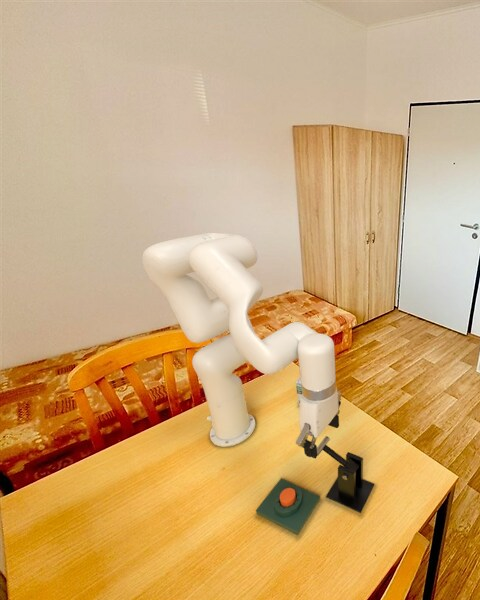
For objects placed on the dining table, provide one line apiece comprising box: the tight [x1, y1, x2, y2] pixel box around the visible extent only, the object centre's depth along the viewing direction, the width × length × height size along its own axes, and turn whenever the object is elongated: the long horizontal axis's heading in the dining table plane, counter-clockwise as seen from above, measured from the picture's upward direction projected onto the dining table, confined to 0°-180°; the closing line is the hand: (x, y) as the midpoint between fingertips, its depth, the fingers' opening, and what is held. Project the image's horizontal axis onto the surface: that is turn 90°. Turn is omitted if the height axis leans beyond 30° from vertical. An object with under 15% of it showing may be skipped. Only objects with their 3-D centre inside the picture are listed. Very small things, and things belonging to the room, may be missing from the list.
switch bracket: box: [325, 451, 375, 514], centre depth 81 cm, size 10×8×12 cm
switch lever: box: [317, 435, 359, 471], centre depth 79 cm, size 11×5×2 cm, turn 71°
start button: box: [280, 488, 296, 507], centre depth 77 cm, size 4×4×2 cm
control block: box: [255, 477, 321, 536], centre depth 78 cm, size 12×9×4 cm
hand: (322, 439), depth 79 cm, fingers open, 9 cm apart
